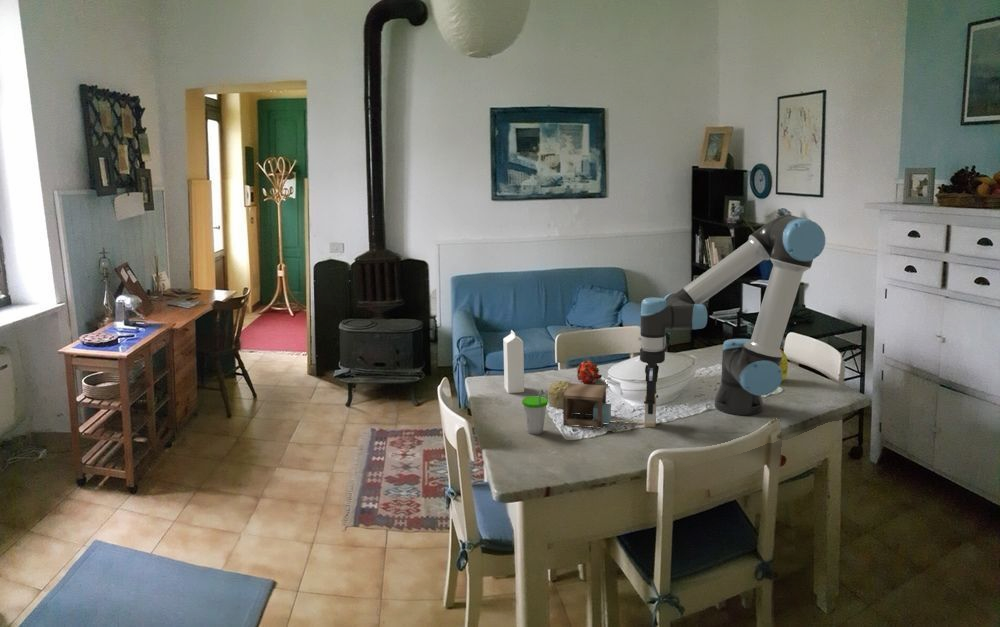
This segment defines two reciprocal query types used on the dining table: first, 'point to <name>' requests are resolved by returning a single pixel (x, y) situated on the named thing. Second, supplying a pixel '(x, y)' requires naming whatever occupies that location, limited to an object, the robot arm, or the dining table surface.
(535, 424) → the cup
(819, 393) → the dining table surface
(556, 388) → the decorative item
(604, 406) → the tethered block
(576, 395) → the brown wooden box
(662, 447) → the dining table surface
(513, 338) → the milk
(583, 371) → the dragon fruit
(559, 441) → the dining table surface
